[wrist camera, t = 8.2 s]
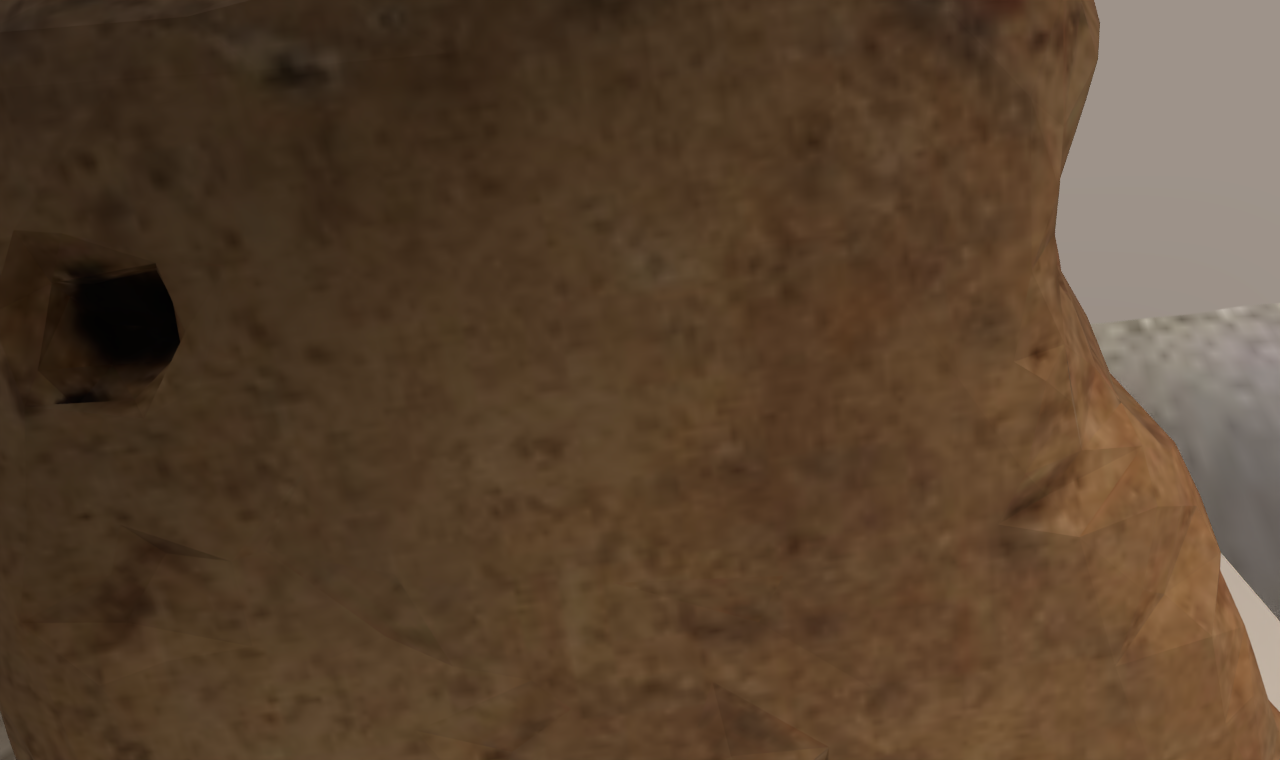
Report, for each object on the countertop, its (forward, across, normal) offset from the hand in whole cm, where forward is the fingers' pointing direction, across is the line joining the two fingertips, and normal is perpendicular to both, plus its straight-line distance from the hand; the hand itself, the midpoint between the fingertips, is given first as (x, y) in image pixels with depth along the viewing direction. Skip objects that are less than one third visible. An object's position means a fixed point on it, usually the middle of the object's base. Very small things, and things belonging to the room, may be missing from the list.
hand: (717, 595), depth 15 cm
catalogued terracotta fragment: (-4, 0, -11) cm, 12 cm away
